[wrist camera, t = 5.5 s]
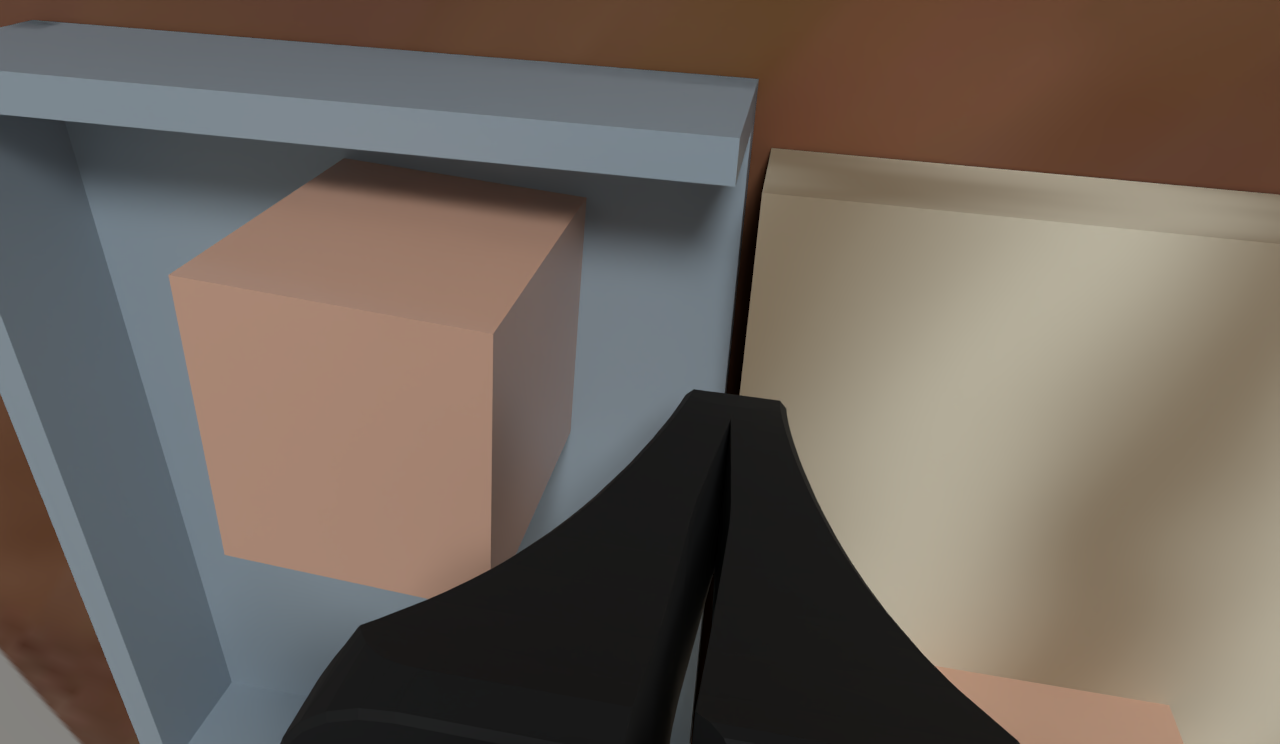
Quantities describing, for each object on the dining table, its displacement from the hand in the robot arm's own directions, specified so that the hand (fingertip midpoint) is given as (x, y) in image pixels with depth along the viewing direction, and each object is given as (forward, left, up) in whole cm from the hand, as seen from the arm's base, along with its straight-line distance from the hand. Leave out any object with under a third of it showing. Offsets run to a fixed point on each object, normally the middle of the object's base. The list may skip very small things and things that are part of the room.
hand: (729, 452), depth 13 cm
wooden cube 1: (+3, 0, 0) cm, 3 cm away
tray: (+6, +4, -3) cm, 8 cm away
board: (-7, +4, -3) cm, 8 cm away
